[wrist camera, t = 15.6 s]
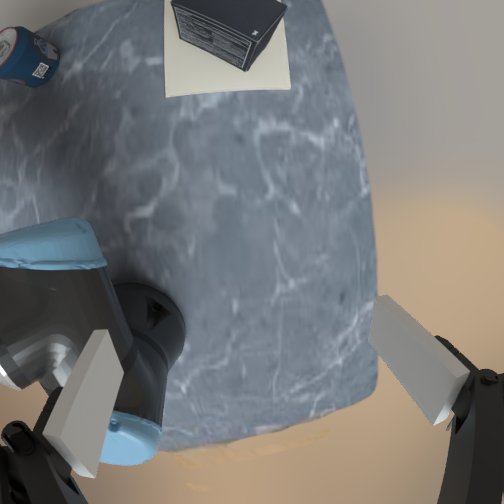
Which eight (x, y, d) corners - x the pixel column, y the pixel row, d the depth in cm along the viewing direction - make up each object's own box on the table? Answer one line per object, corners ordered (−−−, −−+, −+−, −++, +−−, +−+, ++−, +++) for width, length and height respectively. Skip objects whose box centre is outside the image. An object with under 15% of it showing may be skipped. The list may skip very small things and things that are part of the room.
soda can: (20, 76, 26) (-26, 62, 15) (48, 40, 25) (7, 15, 14) (41, 96, 29) (-7, 84, 17) (71, 58, 28) (29, 33, 16)
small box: (272, 39, 31) (292, 5, 21) (246, 74, 32) (259, 45, 22) (205, 6, 28) (205, -35, 18) (177, 39, 29) (167, 3, 19)
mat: (166, 97, 32) (165, 96, 32) (165, 0, 27) (164, -1, 26) (289, 89, 34) (290, 88, 33) (279, -5, 29) (280, -7, 28)
